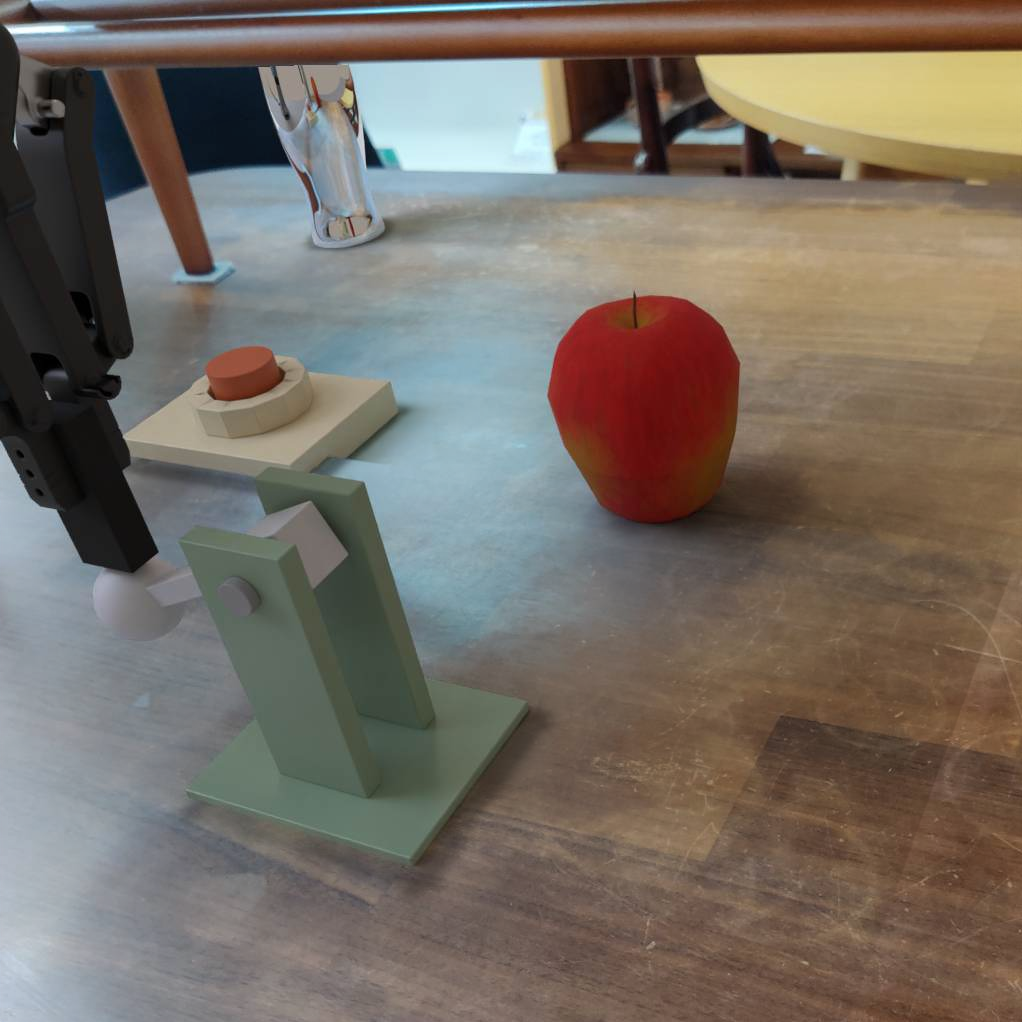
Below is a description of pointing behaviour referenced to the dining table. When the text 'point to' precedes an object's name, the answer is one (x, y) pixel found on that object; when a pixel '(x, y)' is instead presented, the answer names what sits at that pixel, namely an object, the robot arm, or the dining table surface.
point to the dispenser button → (243, 373)
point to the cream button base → (267, 423)
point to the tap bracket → (336, 686)
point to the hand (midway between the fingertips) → (120, 557)
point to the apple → (647, 404)
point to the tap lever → (166, 590)
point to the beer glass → (325, 149)
